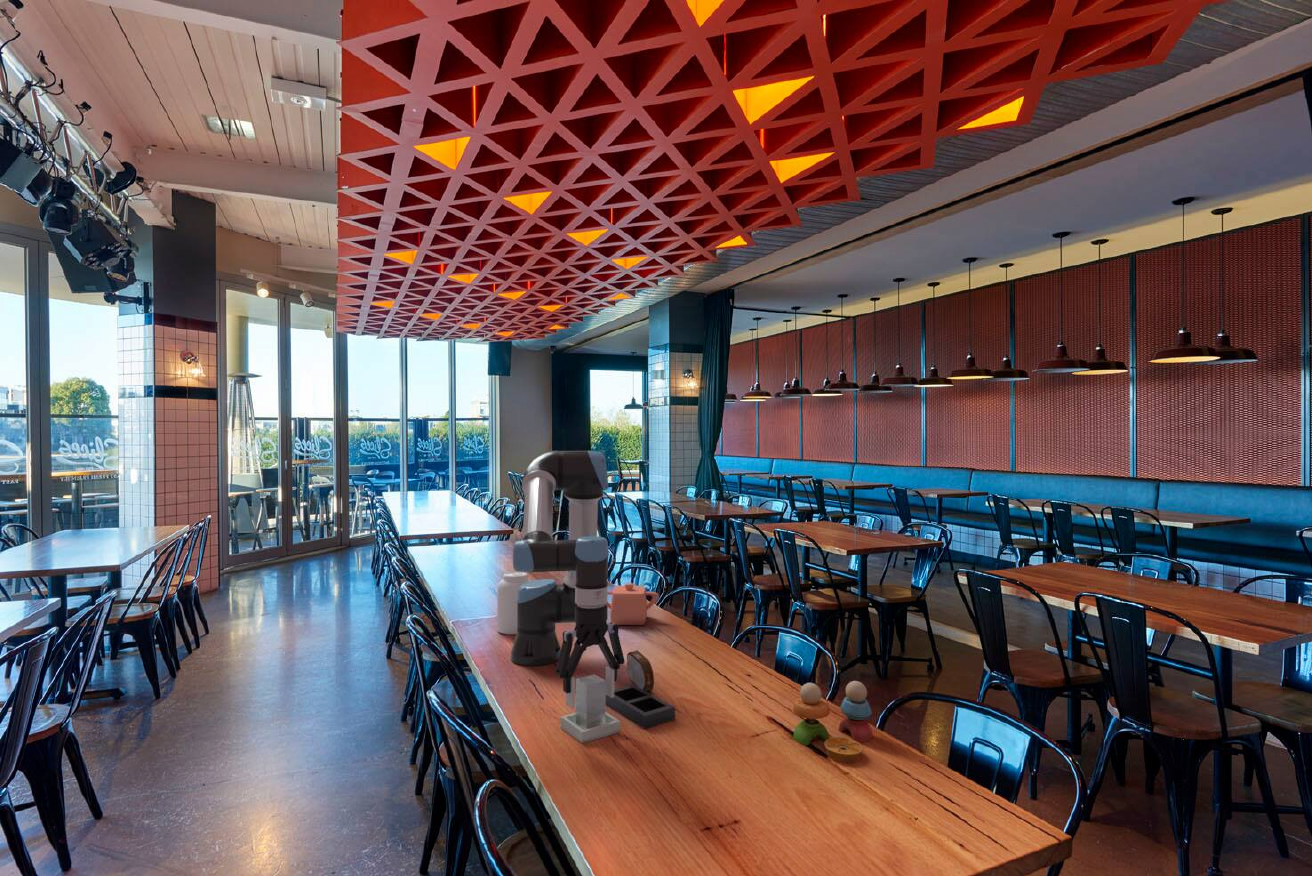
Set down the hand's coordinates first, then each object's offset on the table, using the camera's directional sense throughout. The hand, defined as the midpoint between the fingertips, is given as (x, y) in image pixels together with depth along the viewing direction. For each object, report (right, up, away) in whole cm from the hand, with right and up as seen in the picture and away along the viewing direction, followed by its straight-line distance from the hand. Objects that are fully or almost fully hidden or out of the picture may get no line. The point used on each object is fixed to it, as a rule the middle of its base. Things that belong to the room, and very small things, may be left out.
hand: (590, 700), depth 151 cm
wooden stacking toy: (+57, -8, -5) cm, 58 cm away
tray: (0, -7, 0) cm, 7 cm away
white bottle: (-34, -7, +79) cm, 86 cm away
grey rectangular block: (0, -6, 0) cm, 6 cm away
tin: (+11, -7, +28) cm, 30 cm away
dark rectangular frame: (+11, -7, +10) cm, 17 cm away
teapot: (+5, -7, +94) cm, 95 cm away
